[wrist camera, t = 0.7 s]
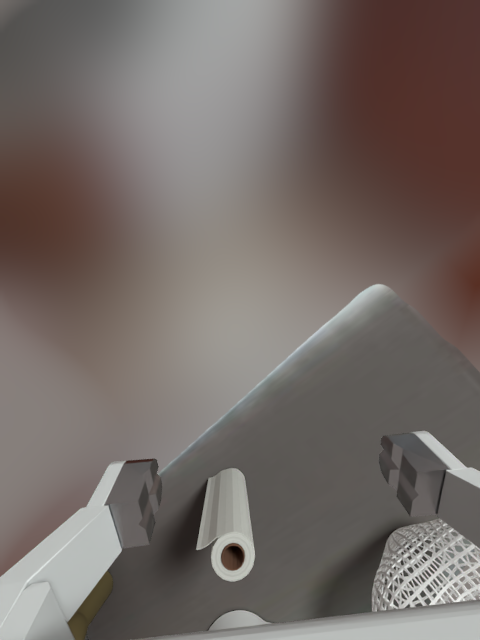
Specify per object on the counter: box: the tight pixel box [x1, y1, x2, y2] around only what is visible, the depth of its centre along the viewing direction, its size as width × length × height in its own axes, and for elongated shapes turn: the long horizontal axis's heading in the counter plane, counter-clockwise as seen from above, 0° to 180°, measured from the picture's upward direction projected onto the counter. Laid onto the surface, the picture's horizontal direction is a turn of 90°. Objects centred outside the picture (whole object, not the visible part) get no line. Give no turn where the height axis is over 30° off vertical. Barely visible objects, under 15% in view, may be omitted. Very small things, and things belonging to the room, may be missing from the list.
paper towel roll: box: [196, 468, 255, 582], centre depth 45 cm, size 7×6×21 cm
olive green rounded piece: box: [68, 571, 113, 640], centre depth 46 cm, size 6×6×11 cm
